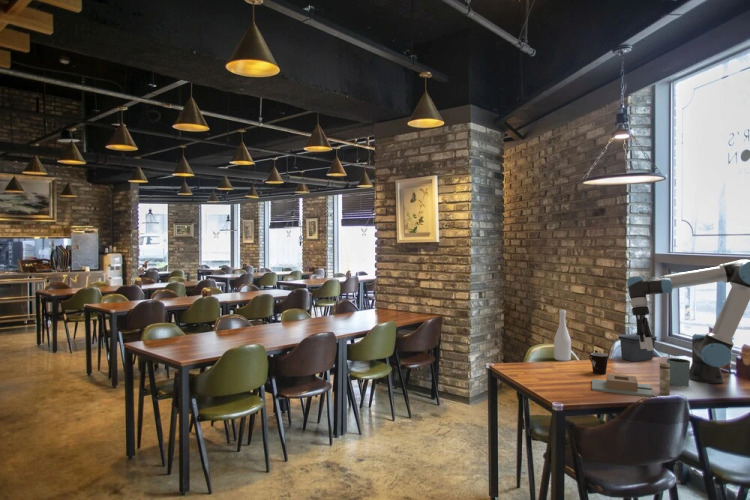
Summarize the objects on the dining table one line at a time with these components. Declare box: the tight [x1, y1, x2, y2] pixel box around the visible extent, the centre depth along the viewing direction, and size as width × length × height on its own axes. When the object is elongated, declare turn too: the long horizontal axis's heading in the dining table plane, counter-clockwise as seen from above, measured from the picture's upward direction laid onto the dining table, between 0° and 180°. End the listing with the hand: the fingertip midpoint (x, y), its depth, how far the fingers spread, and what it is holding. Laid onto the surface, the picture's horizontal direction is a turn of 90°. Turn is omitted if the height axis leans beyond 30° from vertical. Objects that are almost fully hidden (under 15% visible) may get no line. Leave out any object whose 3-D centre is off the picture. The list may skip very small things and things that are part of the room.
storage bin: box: [617, 333, 658, 362], centre depth 299 cm, size 21×16×14 cm
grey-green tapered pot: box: [666, 357, 691, 387], centre depth 247 cm, size 10×10×12 cm
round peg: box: [659, 362, 671, 396], centre depth 231 cm, size 4×4×14 cm
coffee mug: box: [588, 352, 609, 375], centre depth 270 cm, size 12×9×10 cm
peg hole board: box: [591, 373, 655, 398], centre depth 239 cm, size 26×18×5 cm
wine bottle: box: [553, 309, 572, 362], centre depth 300 cm, size 10×10×30 cm
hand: (647, 349), depth 244 cm, fingers open, 13 cm apart
